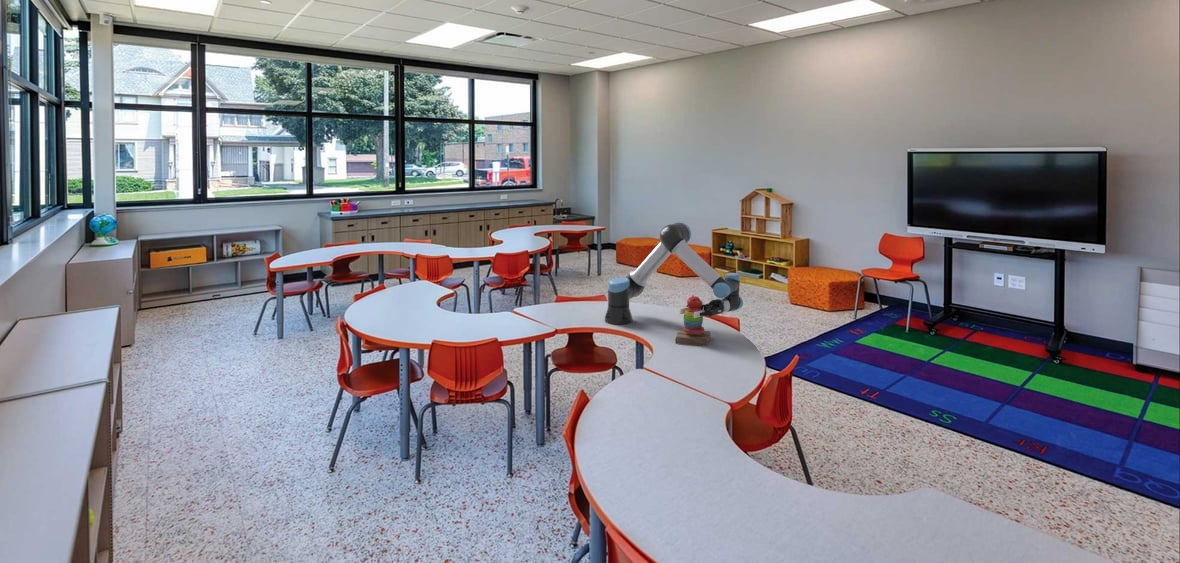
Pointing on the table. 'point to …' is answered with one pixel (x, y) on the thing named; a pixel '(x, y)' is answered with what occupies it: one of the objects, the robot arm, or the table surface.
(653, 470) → the table surface
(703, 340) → the walnut plinth
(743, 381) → the table surface
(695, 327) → the stacking bear
